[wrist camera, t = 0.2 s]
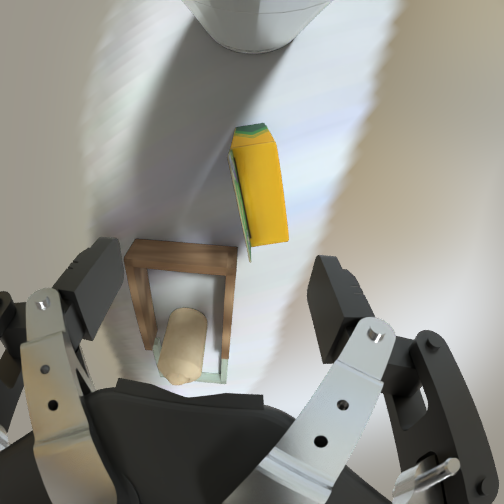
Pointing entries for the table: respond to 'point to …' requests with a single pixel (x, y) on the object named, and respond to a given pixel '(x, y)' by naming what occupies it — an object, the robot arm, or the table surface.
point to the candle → (183, 346)
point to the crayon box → (258, 186)
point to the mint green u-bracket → (204, 376)
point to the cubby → (180, 260)
